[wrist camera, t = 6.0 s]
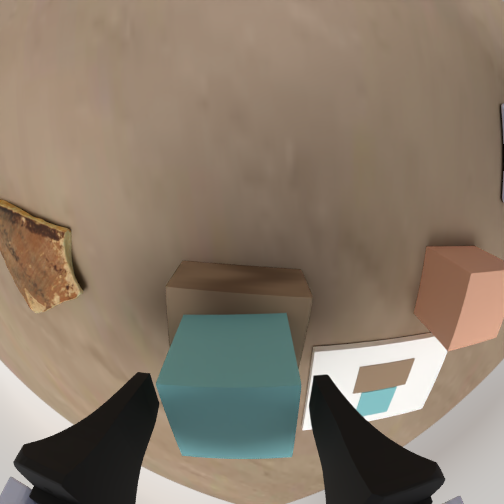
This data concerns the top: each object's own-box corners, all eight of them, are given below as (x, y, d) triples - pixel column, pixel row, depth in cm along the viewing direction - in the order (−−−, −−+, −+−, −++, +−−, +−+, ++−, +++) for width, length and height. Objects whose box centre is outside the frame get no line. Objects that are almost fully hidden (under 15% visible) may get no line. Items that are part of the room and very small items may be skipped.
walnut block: (300, 267, 17) (313, 297, 13) (285, 359, 19) (291, 399, 15) (183, 259, 17) (165, 286, 13) (186, 352, 19) (174, 390, 15)
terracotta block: (473, 245, 16) (517, 268, 12) (460, 305, 18) (496, 337, 13) (425, 246, 16) (470, 273, 12) (413, 312, 18) (447, 351, 13)
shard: (-8, 192, 15) (-22, 196, 14) (44, 142, 15) (28, 142, 13) (42, 308, 19) (30, 319, 17) (102, 282, 18) (89, 293, 16)
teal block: (286, 312, 14) (301, 385, 9) (283, 386, 15) (292, 456, 10) (183, 314, 14) (155, 383, 9) (196, 386, 15) (182, 455, 10)
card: (450, 328, 18) (454, 333, 18) (419, 404, 21) (422, 409, 20) (312, 346, 18) (314, 352, 18) (301, 425, 21) (302, 431, 21)
